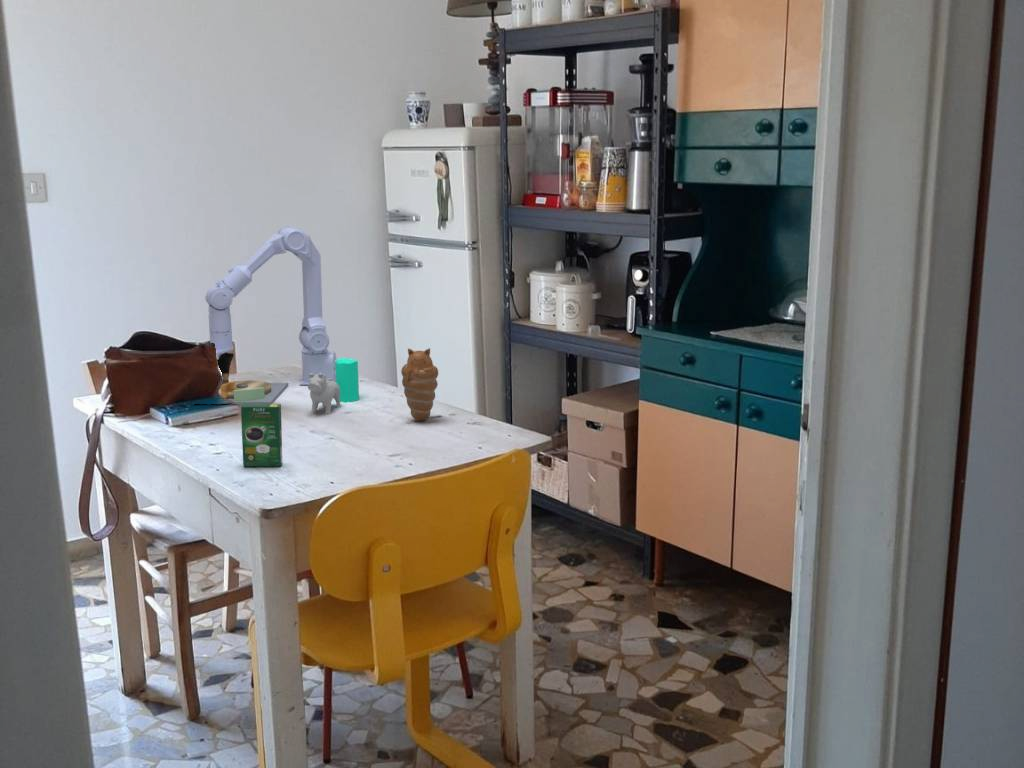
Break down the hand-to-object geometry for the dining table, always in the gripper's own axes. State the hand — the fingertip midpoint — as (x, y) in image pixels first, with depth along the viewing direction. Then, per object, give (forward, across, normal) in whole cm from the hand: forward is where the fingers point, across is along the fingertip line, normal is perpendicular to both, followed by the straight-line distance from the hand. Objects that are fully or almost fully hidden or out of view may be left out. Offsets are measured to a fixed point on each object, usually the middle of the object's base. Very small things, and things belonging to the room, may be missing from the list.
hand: (223, 380), depth 268 cm
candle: (+3, +9, +35) cm, 36 cm away
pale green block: (+2, +12, +10) cm, 16 cm away
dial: (+2, +4, +6) cm, 8 cm away
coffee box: (+3, +66, +27) cm, 71 cm away
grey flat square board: (+3, +4, +6) cm, 8 cm away
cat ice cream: (+3, +30, +56) cm, 64 cm away
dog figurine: (+3, +21, +31) cm, 38 cm away
